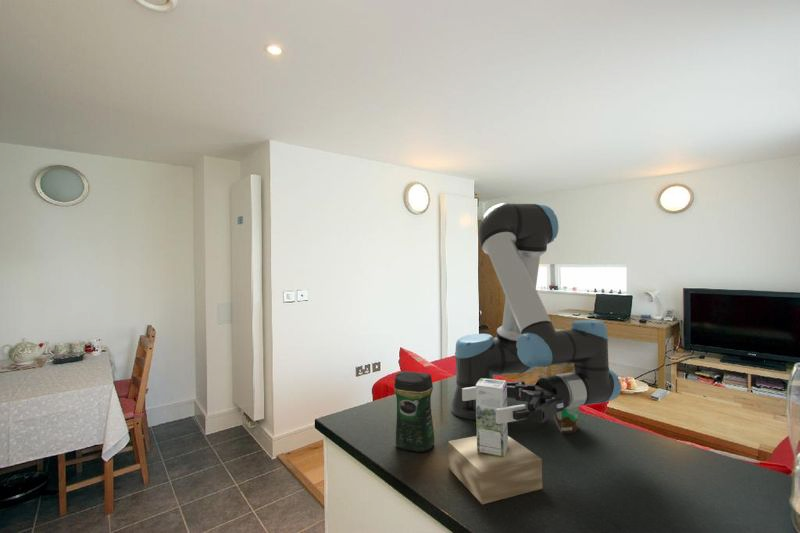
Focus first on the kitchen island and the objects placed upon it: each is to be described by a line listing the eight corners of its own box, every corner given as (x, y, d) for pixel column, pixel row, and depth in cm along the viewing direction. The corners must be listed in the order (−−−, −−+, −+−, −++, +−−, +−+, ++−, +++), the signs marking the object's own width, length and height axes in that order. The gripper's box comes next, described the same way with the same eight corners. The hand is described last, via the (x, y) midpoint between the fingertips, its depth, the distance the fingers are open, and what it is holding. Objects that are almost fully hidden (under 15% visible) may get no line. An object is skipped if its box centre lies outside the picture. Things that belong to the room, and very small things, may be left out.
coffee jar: (438, 442, 97) (436, 370, 97) (426, 456, 90) (425, 378, 90) (404, 435, 101) (402, 366, 101) (391, 448, 94) (389, 374, 94)
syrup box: (508, 446, 81) (507, 379, 82) (504, 459, 76) (502, 387, 76) (482, 441, 84) (481, 376, 84) (476, 453, 79) (474, 384, 79)
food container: (588, 437, 98) (587, 399, 98) (562, 435, 99) (561, 397, 99) (575, 418, 110) (574, 384, 110) (553, 417, 111) (552, 383, 111)
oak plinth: (448, 468, 84) (448, 441, 84) (501, 456, 89) (501, 431, 89) (482, 504, 71) (481, 472, 71) (542, 488, 76) (541, 458, 76)
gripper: (605, 429, 74) (515, 448, 67) (524, 391, 98) (451, 402, 91) (604, 391, 74) (514, 406, 67) (524, 363, 98) (451, 371, 91)
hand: (478, 404), depth 79 cm, fingers open, 13 cm apart
